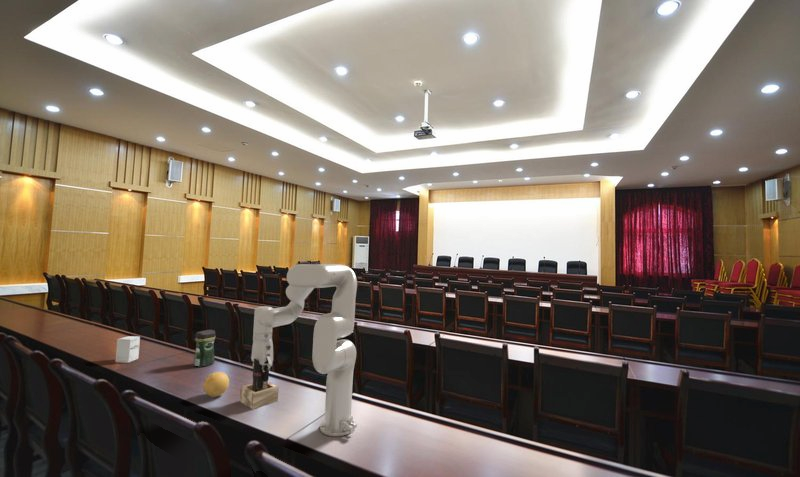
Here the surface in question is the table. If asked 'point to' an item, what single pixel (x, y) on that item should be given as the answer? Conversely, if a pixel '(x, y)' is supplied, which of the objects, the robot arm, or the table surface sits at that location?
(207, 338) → the coffee jar
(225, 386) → the stress ball
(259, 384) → the deodorant
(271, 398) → the wooden box
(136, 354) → the supplement box
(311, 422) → the table surface
